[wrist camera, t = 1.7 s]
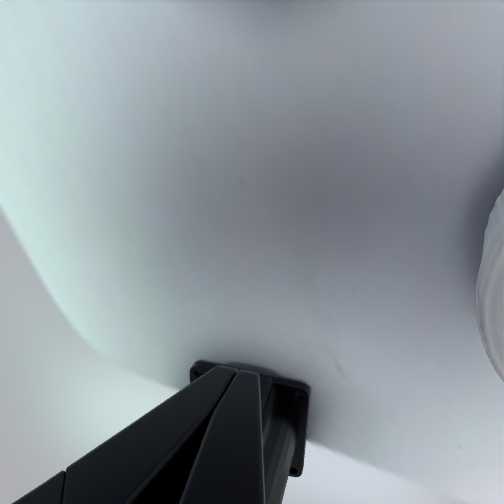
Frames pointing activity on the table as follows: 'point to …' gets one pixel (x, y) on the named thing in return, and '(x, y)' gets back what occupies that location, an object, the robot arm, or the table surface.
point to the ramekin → (492, 288)
